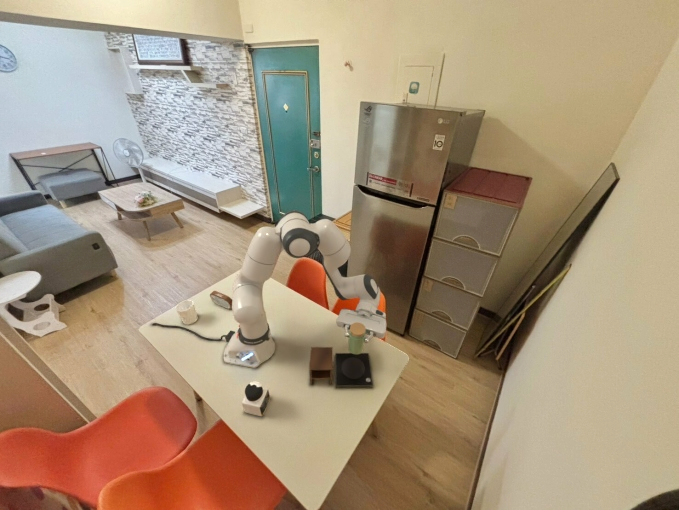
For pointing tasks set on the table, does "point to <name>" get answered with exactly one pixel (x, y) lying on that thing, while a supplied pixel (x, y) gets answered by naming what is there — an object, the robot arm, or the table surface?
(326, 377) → the wooden cubby
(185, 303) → the white cup
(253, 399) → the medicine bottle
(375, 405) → the table surface
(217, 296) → the tin
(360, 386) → the hot plate
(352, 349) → the jar
